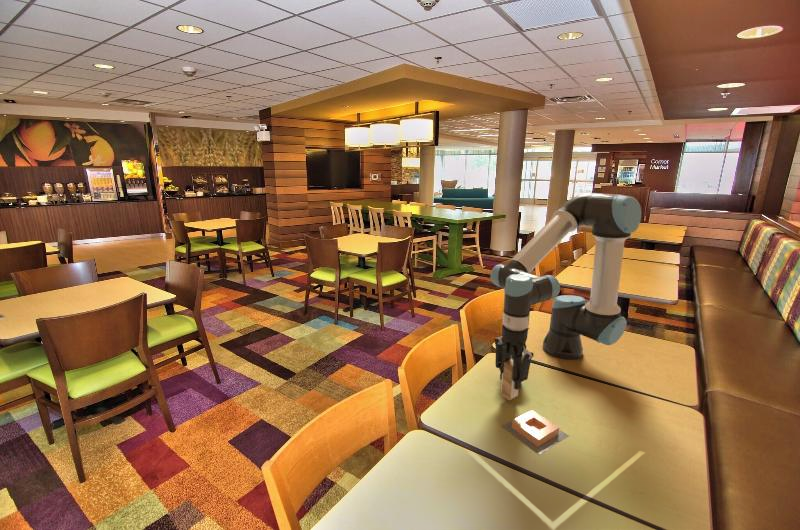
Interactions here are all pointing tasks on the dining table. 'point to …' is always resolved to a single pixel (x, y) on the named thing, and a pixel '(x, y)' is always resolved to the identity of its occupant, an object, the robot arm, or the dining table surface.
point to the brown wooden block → (507, 379)
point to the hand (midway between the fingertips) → (509, 393)
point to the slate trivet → (539, 449)
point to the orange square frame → (535, 428)
